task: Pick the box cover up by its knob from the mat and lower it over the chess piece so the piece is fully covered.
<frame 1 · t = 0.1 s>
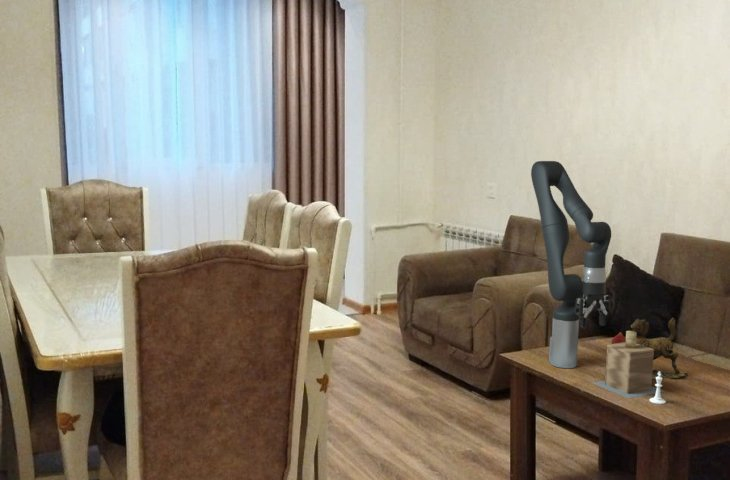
hand: (592, 326, 256), 17 cm above the table, tool pointing down, fingers open, 8 cm apart
figurine: (653, 376, 258), on the table, touching mat
onion: (618, 352, 287), on the table
cover: (627, 387, 245), resting on mat
mat: (627, 388, 245), on the table
chess piece: (657, 403, 232), on the table
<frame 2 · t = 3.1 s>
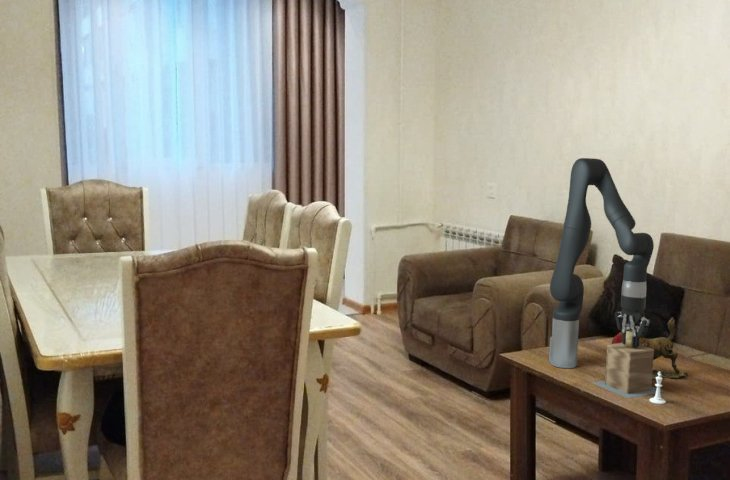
hand: (630, 345, 243), 14 cm above the table, tool pointing down, fingers closed on cover, 3 cm apart
cover: (627, 387, 245), resting on mat, touching gripper
everything else where it was.
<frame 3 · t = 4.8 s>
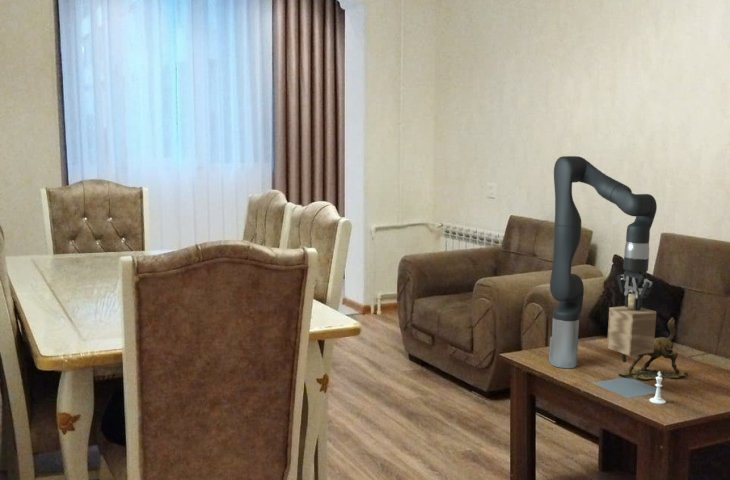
hand: (632, 308, 242), 27 cm above the table, tool pointing down, fingers closed on cover, 3 cm apart
cover: (629, 350, 244), point 13 cm above the table, touching gripper
everything else where it was.
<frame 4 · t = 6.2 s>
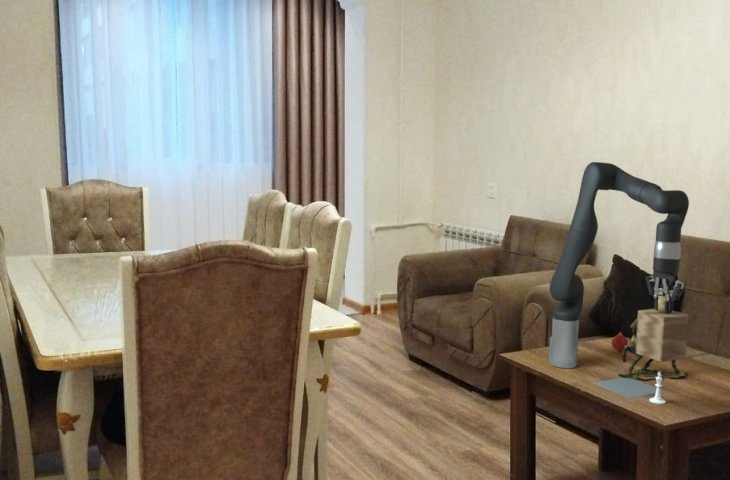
hand: (663, 311, 228), 29 cm above the table, tool pointing down, fingers closed on cover, 3 cm apart
cover: (660, 355, 230), point 15 cm above the table, touching gripper
everything else where it was.
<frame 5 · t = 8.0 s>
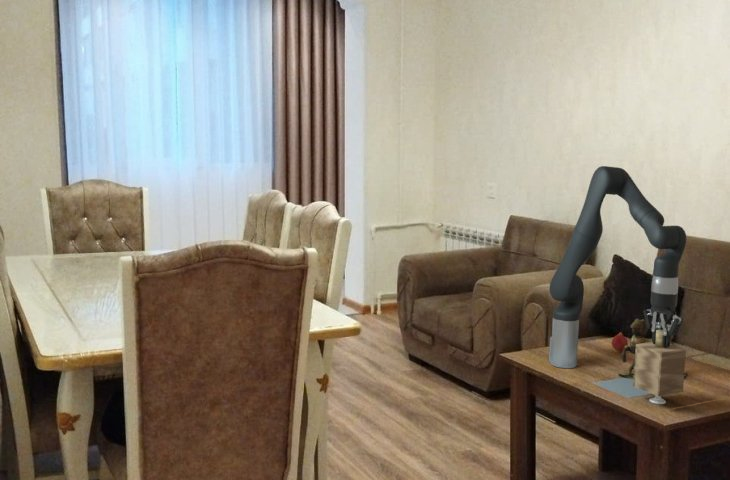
hand: (660, 345, 230), 18 cm above the table, tool pointing down, fingers closed on cover, 3 cm apart
cover: (657, 388, 231), point 4 cm above the table, touching gripper
everything else where it was.
when the fingers open (16 cm above the table, at t = 9.3 s): cover drops 2 cm, on the table.
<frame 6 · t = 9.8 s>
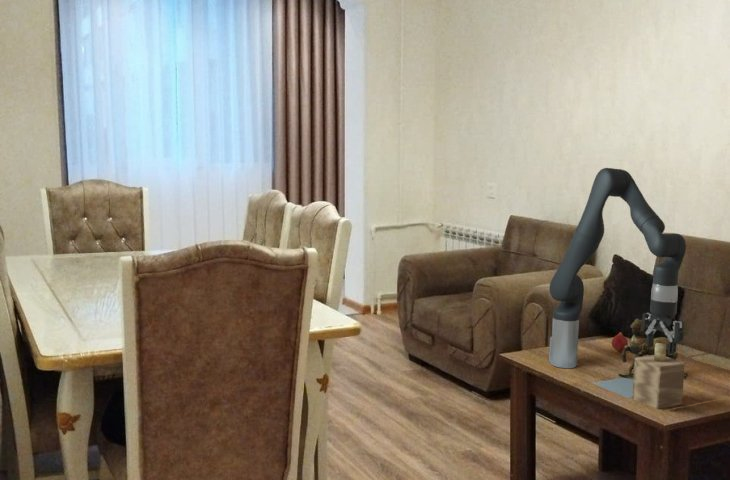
hand: (660, 350, 230), 17 cm above the table, tool pointing down, fingers open, 8 cm apart
cover: (656, 402, 232), on the table
everything else where it was.
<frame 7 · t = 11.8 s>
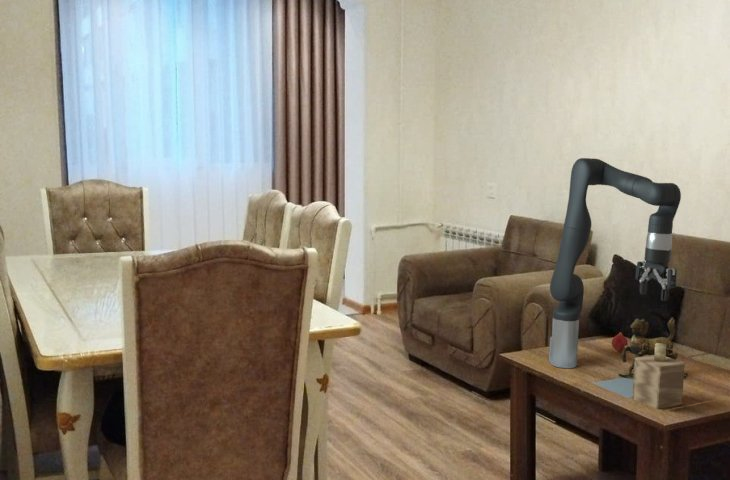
hand: (653, 297, 234), 32 cm above the table, tool pointing down, fingers open, 8 cm apart
nothing on the table moved.
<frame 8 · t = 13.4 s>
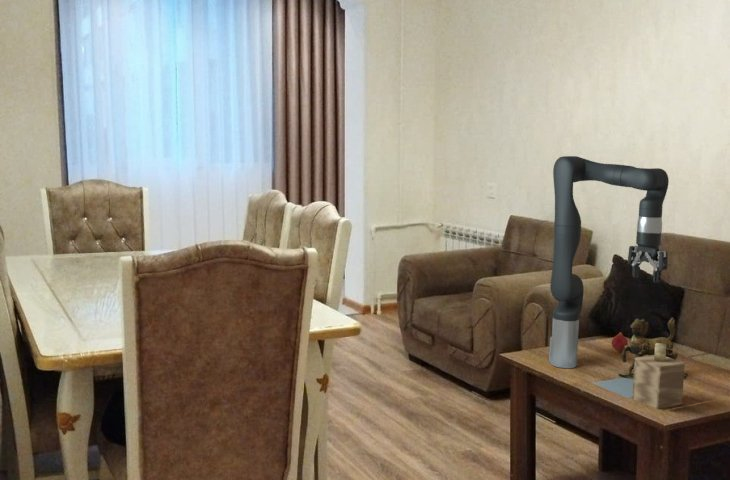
hand: (646, 280, 241), 36 cm above the table, tool pointing down, fingers open, 8 cm apart
nothing on the table moved.
at the end: cover 0.2 cm off-centre in the chess piece, point 0.2 cm above the chess piece's base; the gripper is holding nothing; chess piece tilted 0° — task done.
